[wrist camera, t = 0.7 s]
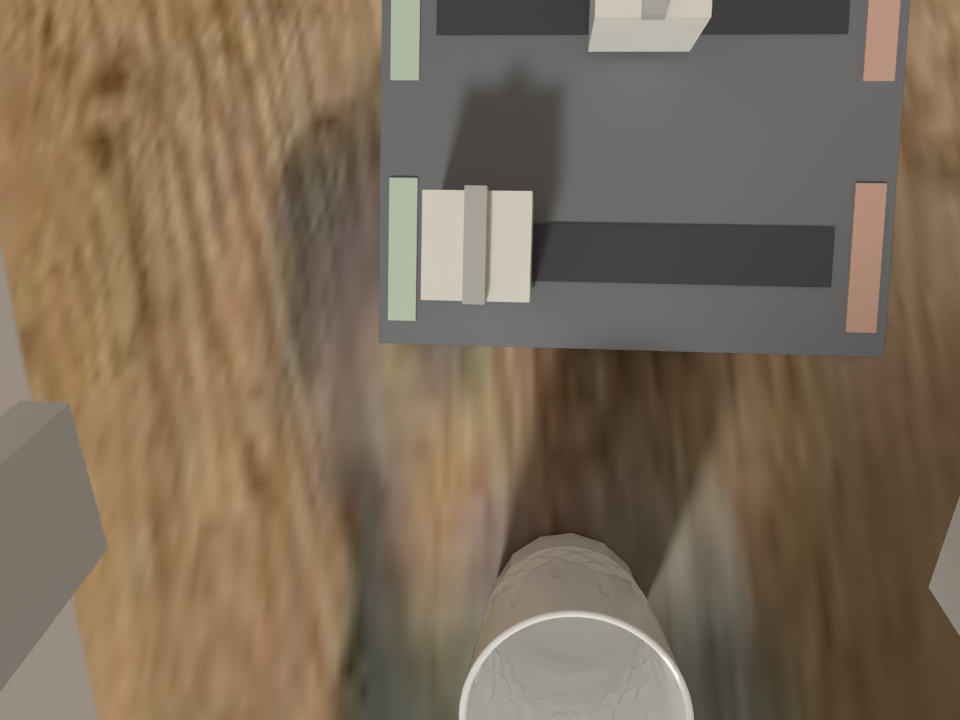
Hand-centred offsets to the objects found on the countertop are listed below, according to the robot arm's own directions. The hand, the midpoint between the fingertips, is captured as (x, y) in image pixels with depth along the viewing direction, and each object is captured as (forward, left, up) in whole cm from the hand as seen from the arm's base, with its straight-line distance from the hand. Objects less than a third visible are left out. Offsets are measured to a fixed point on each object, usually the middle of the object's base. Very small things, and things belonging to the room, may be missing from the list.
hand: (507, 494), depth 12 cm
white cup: (-12, -2, -24) cm, 26 cm away
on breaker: (+4, +2, -21) cm, 22 cm away
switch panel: (+9, -4, -24) cm, 26 cm away
